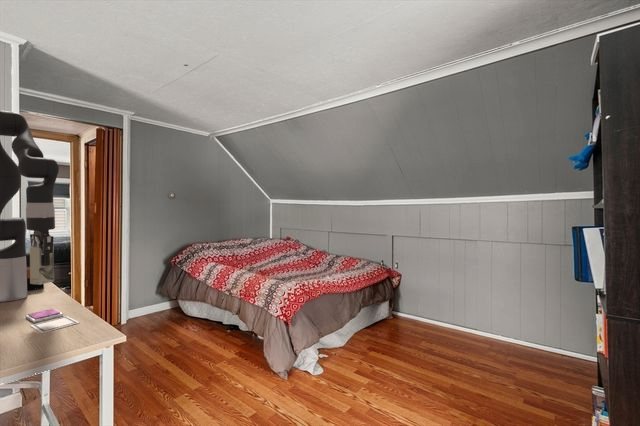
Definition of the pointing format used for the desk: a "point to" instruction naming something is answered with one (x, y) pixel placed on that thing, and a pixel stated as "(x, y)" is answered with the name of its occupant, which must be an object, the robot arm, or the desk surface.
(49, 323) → the paper
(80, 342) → the desk surface
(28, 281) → the battery
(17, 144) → the robot arm
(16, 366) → the desk surface
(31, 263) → the box
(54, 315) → the ink pad
